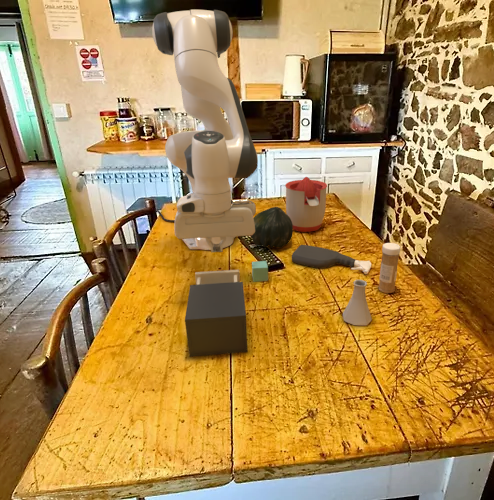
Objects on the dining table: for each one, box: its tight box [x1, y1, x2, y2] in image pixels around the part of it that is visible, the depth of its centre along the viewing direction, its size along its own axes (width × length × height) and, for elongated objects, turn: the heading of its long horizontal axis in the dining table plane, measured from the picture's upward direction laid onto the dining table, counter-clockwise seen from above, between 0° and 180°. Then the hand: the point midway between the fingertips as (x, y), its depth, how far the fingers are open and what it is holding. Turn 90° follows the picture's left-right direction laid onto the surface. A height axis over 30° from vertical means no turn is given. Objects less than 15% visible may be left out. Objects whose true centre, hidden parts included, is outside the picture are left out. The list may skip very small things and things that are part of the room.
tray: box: [194, 269, 241, 285], centre depth 101 cm, size 18×11×8 cm, turn 6°
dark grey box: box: [184, 281, 249, 358], centre depth 91 cm, size 15×13×10 cm
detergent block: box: [251, 260, 269, 283], centre depth 117 cm, size 4×4×4 cm
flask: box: [342, 279, 373, 326], centre depth 96 cm, size 7×7×10 cm
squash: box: [250, 206, 294, 249], centre depth 137 cm, size 14×15×15 cm
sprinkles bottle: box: [377, 242, 401, 294], centre depth 107 cm, size 5×5×13 cm
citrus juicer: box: [284, 176, 328, 233], centre depth 150 cm, size 16×17×20 cm
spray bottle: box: [291, 244, 372, 275], centre depth 125 cm, size 3×11×24 cm
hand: (217, 251), depth 103 cm, fingers closed
